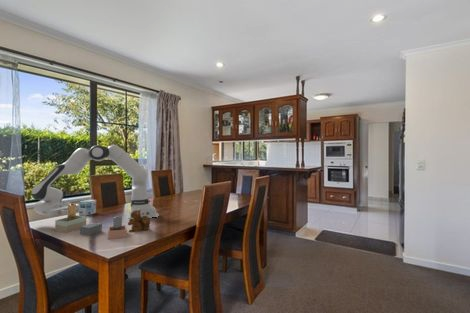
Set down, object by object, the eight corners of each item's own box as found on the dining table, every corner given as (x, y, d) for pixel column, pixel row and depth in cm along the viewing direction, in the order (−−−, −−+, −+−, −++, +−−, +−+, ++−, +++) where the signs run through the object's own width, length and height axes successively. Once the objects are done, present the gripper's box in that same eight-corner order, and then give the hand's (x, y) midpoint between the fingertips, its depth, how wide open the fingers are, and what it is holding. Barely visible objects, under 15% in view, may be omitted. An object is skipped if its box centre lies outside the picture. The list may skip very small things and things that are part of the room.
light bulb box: (85, 215, 189) (86, 202, 189) (78, 215, 190) (78, 201, 190) (96, 212, 199) (96, 199, 200) (89, 212, 201) (89, 199, 201)
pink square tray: (125, 233, 150) (125, 225, 150) (126, 238, 141) (126, 229, 141) (108, 235, 146) (108, 226, 146) (107, 240, 137) (108, 231, 137)
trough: (75, 225, 164) (75, 215, 164) (86, 226, 161) (86, 216, 161) (55, 231, 150) (55, 220, 150) (66, 232, 148) (66, 221, 148)
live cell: (75, 220, 159) (76, 202, 159) (74, 222, 155) (75, 204, 155) (67, 221, 157) (68, 203, 157) (66, 223, 153) (67, 204, 153)
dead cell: (121, 234, 146) (121, 214, 147) (121, 236, 143) (122, 216, 143) (112, 235, 144) (113, 215, 145) (112, 237, 141) (113, 217, 141)
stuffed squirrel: (130, 228, 161) (131, 208, 161) (152, 228, 162) (153, 208, 162) (125, 233, 151) (126, 211, 151) (148, 233, 152) (149, 212, 152)
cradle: (92, 230, 153) (93, 222, 153) (101, 232, 151) (102, 223, 151) (80, 234, 144) (80, 225, 144) (89, 236, 142) (89, 227, 143)
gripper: (40, 207, 149) (57, 209, 145) (70, 201, 169) (86, 203, 165) (39, 217, 149) (56, 219, 145) (70, 210, 169) (86, 212, 165)
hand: (72, 211), depth 155 cm, fingers open, 5 cm apart
